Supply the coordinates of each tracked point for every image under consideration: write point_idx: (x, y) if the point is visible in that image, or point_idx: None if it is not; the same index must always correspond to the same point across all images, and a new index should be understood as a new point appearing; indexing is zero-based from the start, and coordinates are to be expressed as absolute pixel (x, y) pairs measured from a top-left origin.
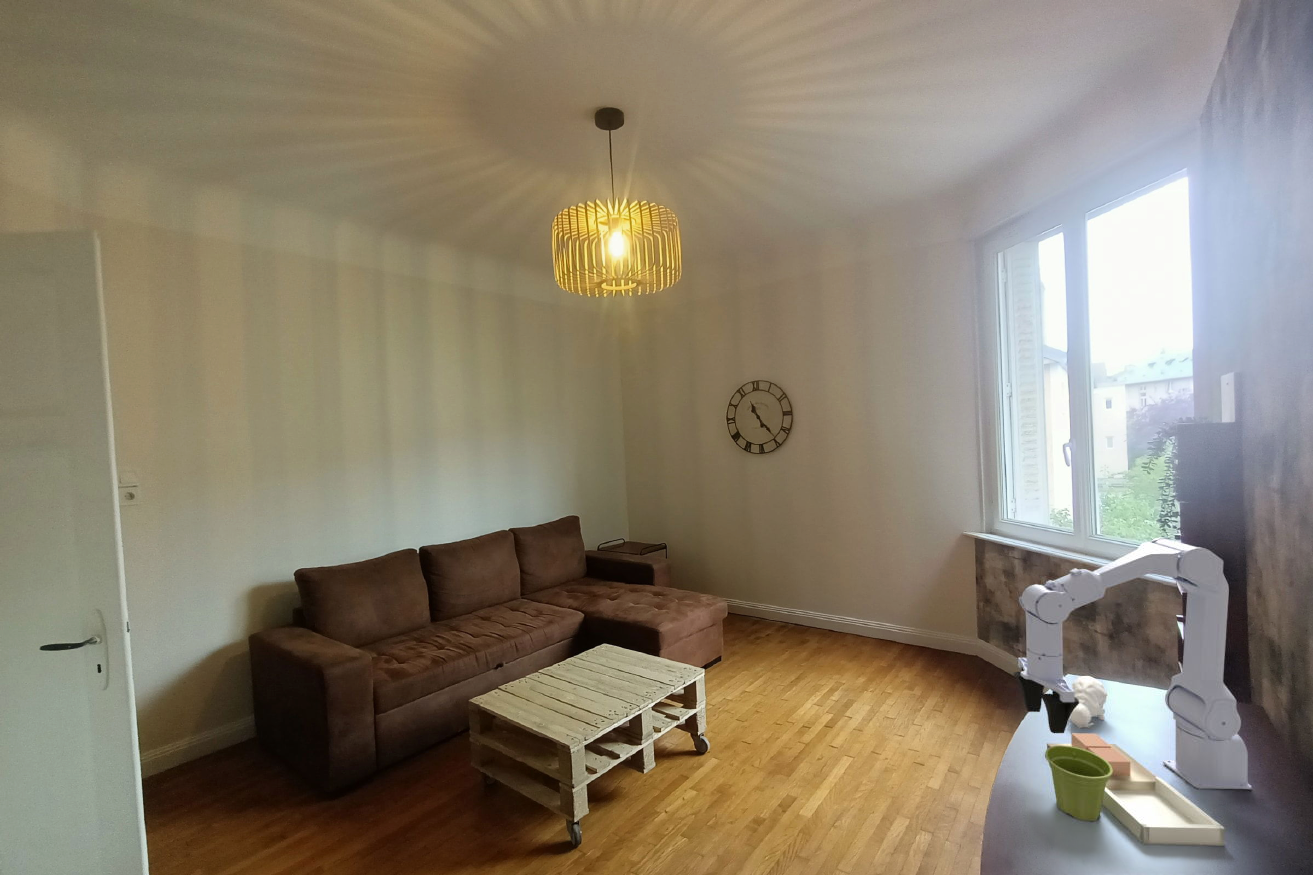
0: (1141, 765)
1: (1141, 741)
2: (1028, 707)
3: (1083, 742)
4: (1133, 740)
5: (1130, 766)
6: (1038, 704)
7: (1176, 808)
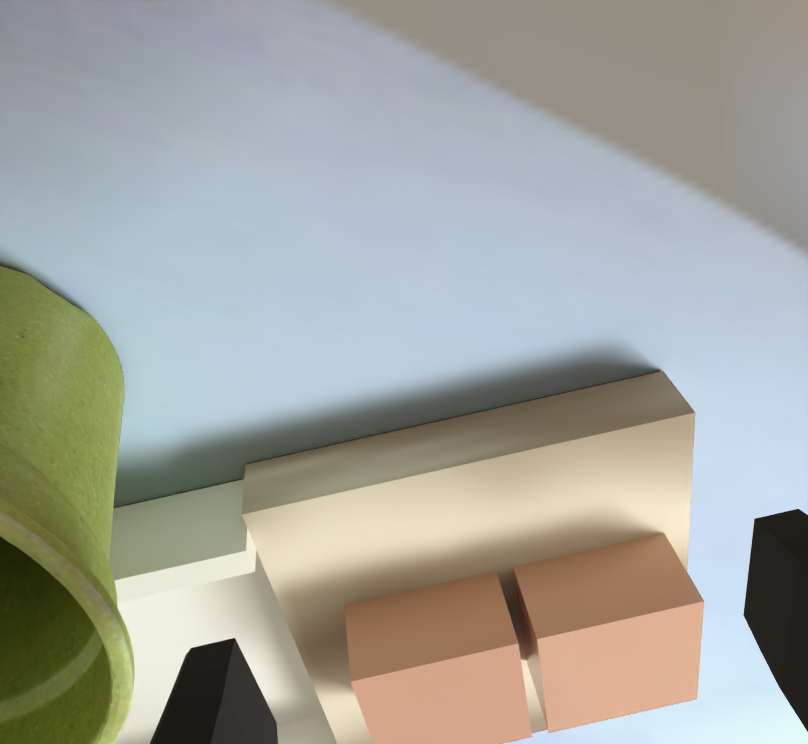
0: None
1: (756, 740)
2: (790, 563)
3: (583, 633)
4: (766, 722)
5: None
6: (803, 695)
7: None
